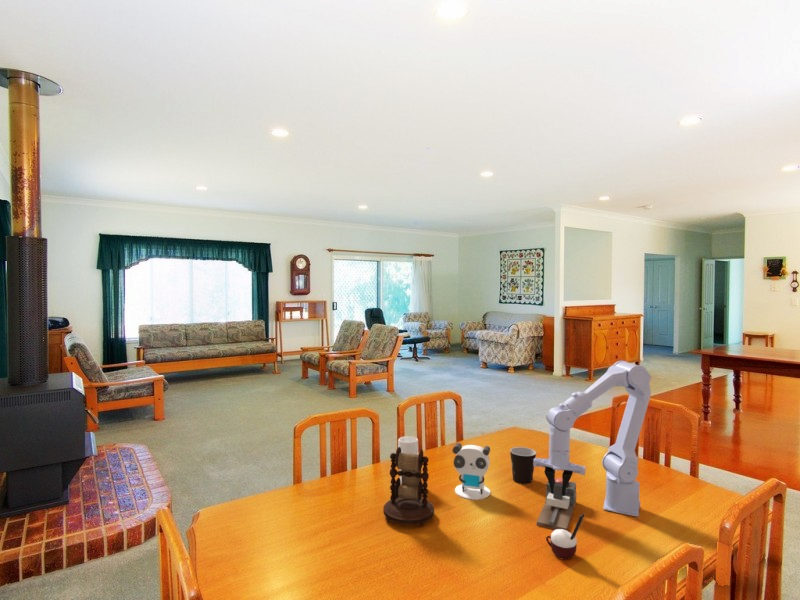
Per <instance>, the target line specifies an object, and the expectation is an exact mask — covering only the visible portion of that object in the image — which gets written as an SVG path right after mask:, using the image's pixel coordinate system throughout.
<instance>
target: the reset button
mask: <svg viewBox="0 0 800 600" xmlns="http://www.w3.org/2000/svg"><path fill="white" fill-rule="evenodd" d="M555 482H558V483H563V480H562V477H557V478H556V477H555ZM566 488H567V487H566Z"/></svg>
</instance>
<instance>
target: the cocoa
mask: <svg viewBox="0 0 800 600" xmlns="http://www.w3.org/2000/svg"><path fill="white" fill-rule="evenodd" d="M584 517H585V513H582V514H580V516H579V518H578V519H577V523H576V525H575V527H574V529H573V532H572V533H571V532H570V531H568V530H567V531H566V530H563V529H556V530H555V529H553V531H552V532H551V534H550V535H547V536H546V537H545V540H546V542H547V544H548V545H549V547H550V548H551V552H553V554H554V556H556V557H557V558H559V559H561V558H562V560H569V559H572V558H573V557H574V556H575V555H576V551H577V547H578V546H577V543H578V539H577V537H576V536H577V533H578V531H579V530H580V527H581V524H582V522H583V520H584ZM549 539H550V540H549Z"/></svg>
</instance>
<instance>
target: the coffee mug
mask: <svg viewBox="0 0 800 600" xmlns="http://www.w3.org/2000/svg"><path fill="white" fill-rule="evenodd" d="M509 451H510V452H509V455H510V463H511V471H512V472H511V473H512V480H513V482H515V483H517V484H520V483H521V485H529V484H531V482H532V483H533V477H534V471H535V466H533V460H534V458H537V457H536V456H537V452H536V451H535V450H534V449H532V448H530V447H525V446H516V447H512V448H510V450H509Z"/></svg>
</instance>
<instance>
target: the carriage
mask: <svg viewBox="0 0 800 600" xmlns="http://www.w3.org/2000/svg"><path fill="white" fill-rule="evenodd" d="M562 487H563V483H558V482H555V483H554V488H553V494H551V493H549V494H548V496H547V501H546V500H545V502H546V505H550V506H555V507H560V508H564V509H568V507H569V504H570V497H568V496H562Z"/></svg>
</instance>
